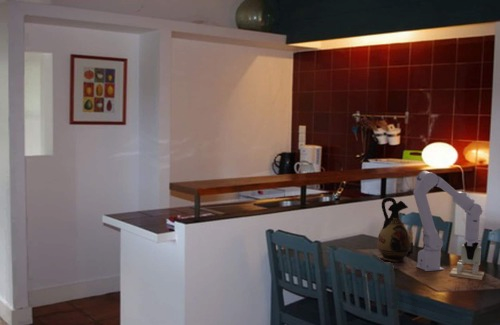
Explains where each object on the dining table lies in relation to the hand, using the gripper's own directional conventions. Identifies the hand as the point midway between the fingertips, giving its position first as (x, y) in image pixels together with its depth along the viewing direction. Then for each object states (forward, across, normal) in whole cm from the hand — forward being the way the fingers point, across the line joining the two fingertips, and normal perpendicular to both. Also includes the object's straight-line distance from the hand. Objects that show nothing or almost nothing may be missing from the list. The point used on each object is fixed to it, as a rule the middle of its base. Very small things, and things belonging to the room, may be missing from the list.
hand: (470, 258), depth 263 cm
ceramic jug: (+5, -1, +35) cm, 36 cm away
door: (+2, 0, 0) cm, 2 cm away
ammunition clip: (+5, +16, +34) cm, 38 cm away
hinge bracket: (+5, -11, 0) cm, 12 cm away
